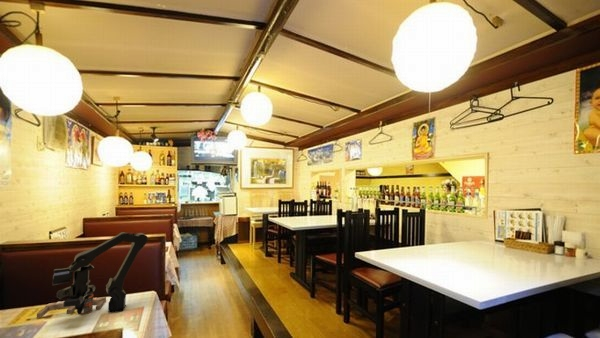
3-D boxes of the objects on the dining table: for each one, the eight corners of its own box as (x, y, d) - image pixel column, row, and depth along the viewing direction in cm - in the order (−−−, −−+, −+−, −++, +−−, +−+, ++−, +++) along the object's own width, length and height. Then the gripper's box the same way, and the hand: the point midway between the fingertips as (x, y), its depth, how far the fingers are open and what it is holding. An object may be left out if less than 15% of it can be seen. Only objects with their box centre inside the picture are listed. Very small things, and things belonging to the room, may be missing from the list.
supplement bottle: (83, 316, 132) (84, 292, 133) (74, 314, 134) (75, 290, 134) (95, 310, 138) (96, 287, 139) (86, 308, 139) (87, 286, 140)
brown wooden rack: (105, 301, 148) (106, 296, 148) (99, 310, 138) (99, 304, 138) (48, 308, 140) (48, 302, 140) (36, 318, 130) (36, 311, 130)
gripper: (69, 275, 136) (68, 307, 135) (49, 289, 119) (47, 326, 118) (96, 273, 140) (94, 304, 139) (80, 286, 122) (78, 322, 121)
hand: (79, 313), depth 129 cm, fingers closed
